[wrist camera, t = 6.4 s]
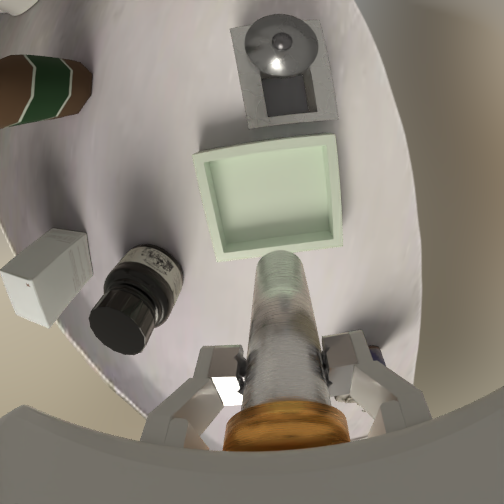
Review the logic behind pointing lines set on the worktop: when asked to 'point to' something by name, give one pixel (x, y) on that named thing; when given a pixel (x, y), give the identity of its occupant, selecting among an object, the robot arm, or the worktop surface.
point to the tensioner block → (284, 66)
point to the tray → (271, 196)
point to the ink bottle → (136, 299)
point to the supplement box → (48, 275)
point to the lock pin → (284, 368)
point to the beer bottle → (41, 88)
